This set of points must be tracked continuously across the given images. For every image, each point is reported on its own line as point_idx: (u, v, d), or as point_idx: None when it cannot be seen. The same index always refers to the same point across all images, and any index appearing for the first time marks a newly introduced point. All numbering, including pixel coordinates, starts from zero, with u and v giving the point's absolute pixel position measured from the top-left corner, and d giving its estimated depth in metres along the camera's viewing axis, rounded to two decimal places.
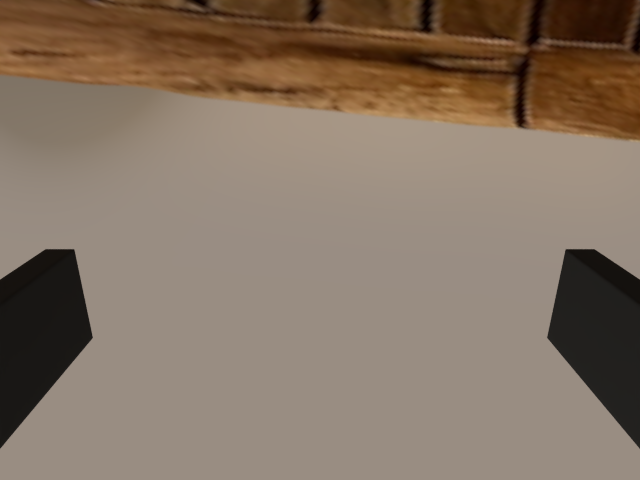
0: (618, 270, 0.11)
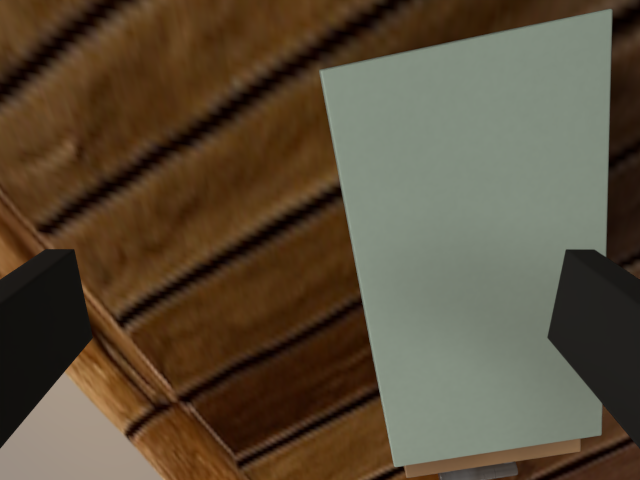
0: (618, 270, 0.11)
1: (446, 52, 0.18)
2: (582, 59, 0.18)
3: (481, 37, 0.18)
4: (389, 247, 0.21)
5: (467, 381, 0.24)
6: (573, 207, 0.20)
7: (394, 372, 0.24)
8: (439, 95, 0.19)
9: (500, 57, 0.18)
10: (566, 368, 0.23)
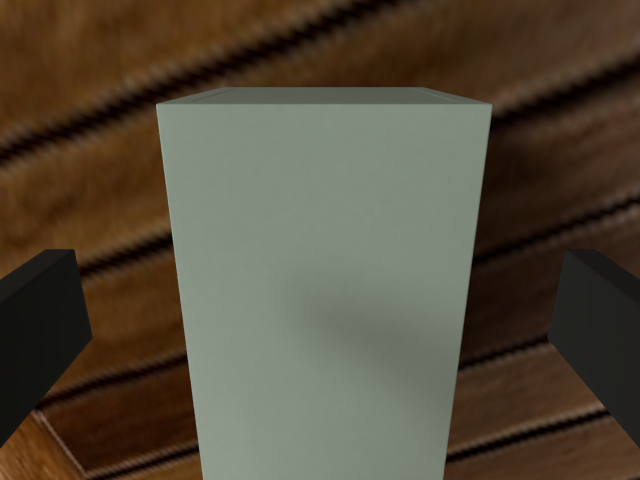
0: (618, 270, 0.11)
1: (303, 113, 0.16)
2: (454, 152, 0.16)
3: (344, 105, 0.16)
4: (221, 312, 0.19)
5: (297, 465, 0.21)
6: (427, 306, 0.18)
7: (217, 443, 0.21)
8: (291, 159, 0.16)
9: (363, 131, 0.16)
10: (405, 468, 0.22)
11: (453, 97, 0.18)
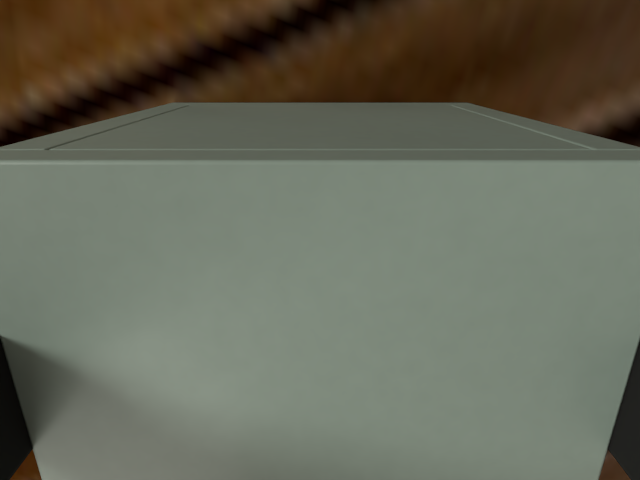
0: None
1: (275, 180, 0.07)
2: (596, 259, 0.08)
3: (365, 163, 0.07)
4: None
5: None
6: None
7: None
8: (251, 272, 0.08)
9: (406, 218, 0.07)
10: None
11: (561, 132, 0.10)
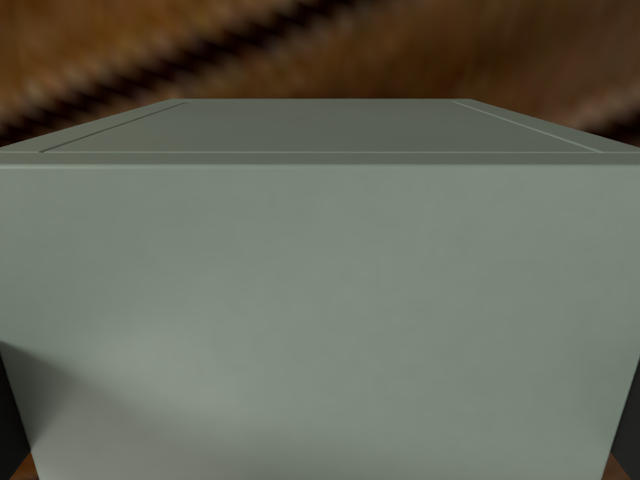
0: None
1: (273, 184, 0.07)
2: (601, 264, 0.07)
3: (366, 167, 0.07)
4: None
5: None
6: None
7: None
8: (250, 277, 0.08)
9: (407, 223, 0.07)
10: None
11: (566, 132, 0.10)
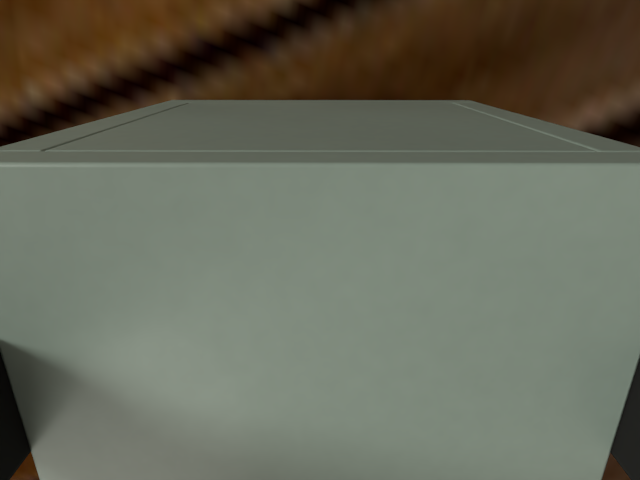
0: None
1: (274, 182, 0.07)
2: (601, 263, 0.07)
3: (366, 165, 0.07)
4: None
5: None
6: None
7: None
8: (250, 275, 0.08)
9: (407, 221, 0.07)
10: None
11: (565, 132, 0.10)
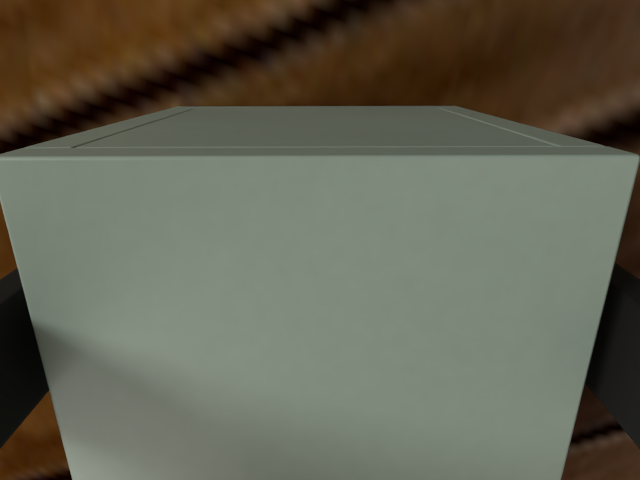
0: (618, 270, 0.11)
1: (276, 173, 0.08)
2: (560, 242, 0.09)
3: (355, 158, 0.08)
4: None
5: None
6: None
7: None
8: (255, 255, 0.09)
9: (392, 206, 0.08)
10: None
11: (534, 132, 0.11)
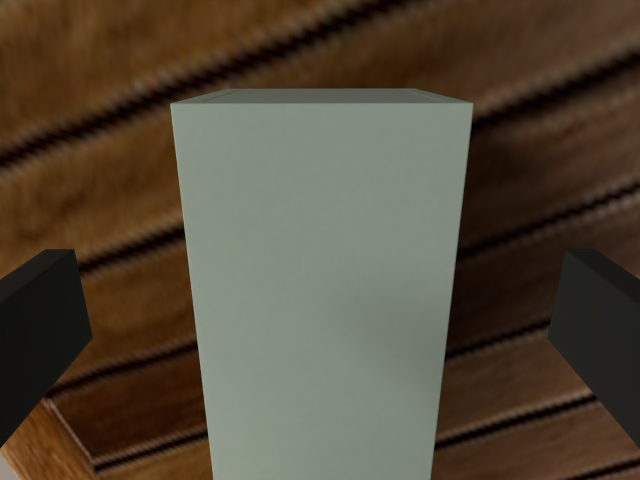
0: (618, 270, 0.11)
1: (303, 111, 0.17)
2: (439, 146, 0.18)
3: (340, 104, 0.17)
4: (228, 294, 0.20)
5: (298, 439, 0.23)
6: (417, 288, 0.20)
7: (224, 418, 0.23)
8: (292, 153, 0.18)
9: (357, 128, 0.18)
10: (398, 442, 0.23)
11: (440, 97, 0.20)
